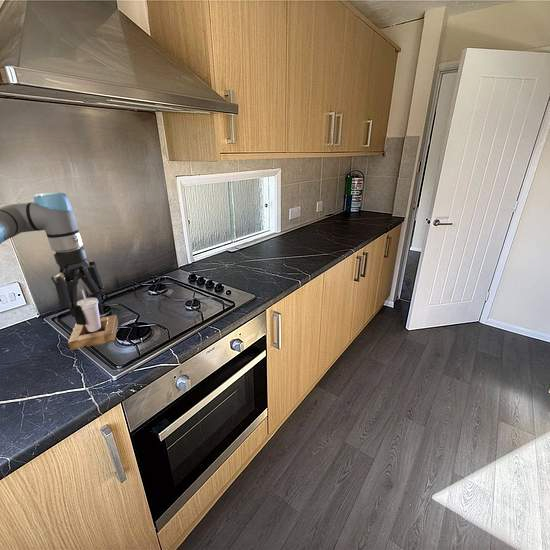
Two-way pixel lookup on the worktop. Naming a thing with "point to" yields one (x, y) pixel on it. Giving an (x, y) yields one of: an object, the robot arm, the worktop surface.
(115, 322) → the wooden tray
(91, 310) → the smoothie
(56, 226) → the robot arm
